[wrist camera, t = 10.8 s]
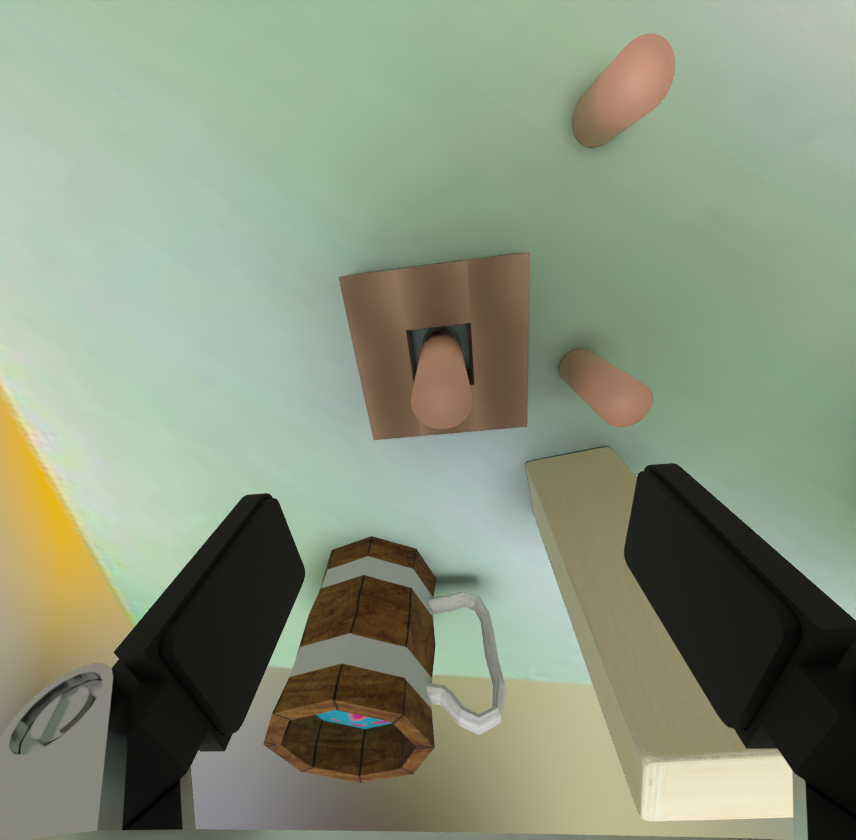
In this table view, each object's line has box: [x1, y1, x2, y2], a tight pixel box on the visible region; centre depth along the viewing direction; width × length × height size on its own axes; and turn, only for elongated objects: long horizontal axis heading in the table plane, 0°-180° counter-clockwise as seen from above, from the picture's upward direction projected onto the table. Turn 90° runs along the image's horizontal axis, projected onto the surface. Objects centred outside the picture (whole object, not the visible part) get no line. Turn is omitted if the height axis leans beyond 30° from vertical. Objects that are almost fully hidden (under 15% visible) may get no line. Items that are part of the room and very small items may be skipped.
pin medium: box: [559, 349, 652, 427], centre depth 24 cm, size 3×3×8 cm
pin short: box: [573, 34, 675, 147], centre depth 18 cm, size 3×3×5 cm
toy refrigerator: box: [526, 447, 793, 821], centre depth 23 cm, size 8×7×21 cm
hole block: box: [339, 253, 529, 440], centre depth 25 cm, size 12×12×4 cm
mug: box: [264, 536, 506, 783], centre depth 33 cm, size 20×14×15 cm
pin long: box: [411, 326, 472, 429], centre depth 22 cm, size 3×3×12 cm
